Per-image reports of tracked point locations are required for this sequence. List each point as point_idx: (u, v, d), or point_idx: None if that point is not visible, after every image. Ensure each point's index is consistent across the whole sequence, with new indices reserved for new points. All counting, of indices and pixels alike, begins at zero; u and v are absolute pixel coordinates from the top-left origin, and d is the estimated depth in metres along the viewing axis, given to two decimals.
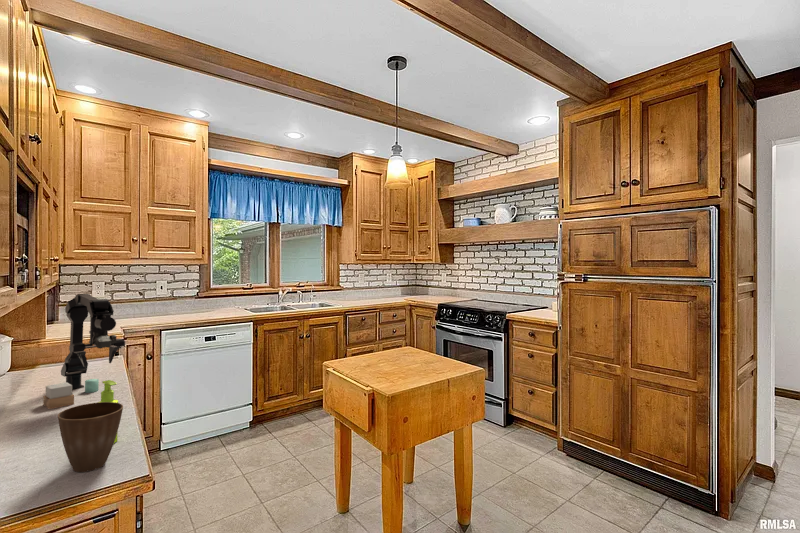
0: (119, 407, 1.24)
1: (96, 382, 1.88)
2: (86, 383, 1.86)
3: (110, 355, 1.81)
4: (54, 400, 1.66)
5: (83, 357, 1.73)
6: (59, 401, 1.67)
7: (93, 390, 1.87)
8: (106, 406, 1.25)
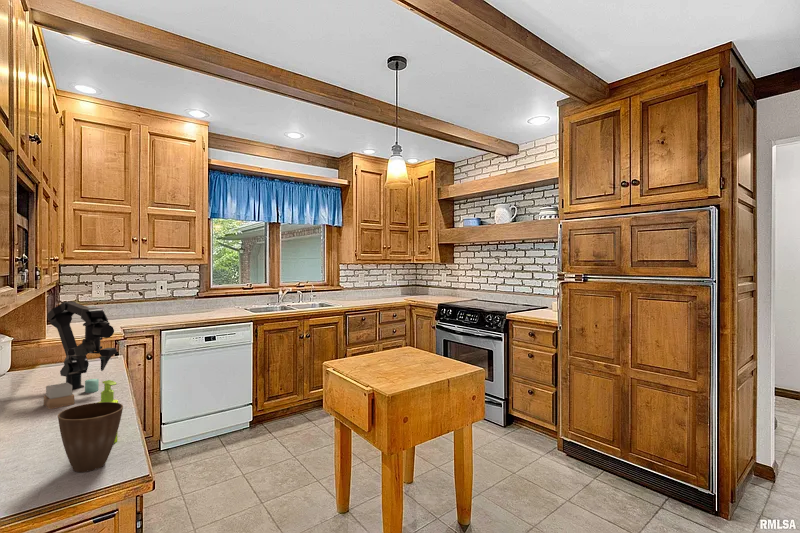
0: (119, 407, 1.24)
1: (96, 382, 1.88)
2: (86, 383, 1.86)
3: None
4: (55, 400, 1.66)
5: (78, 361, 1.87)
6: (59, 401, 1.67)
7: (93, 390, 1.87)
8: (106, 406, 1.25)
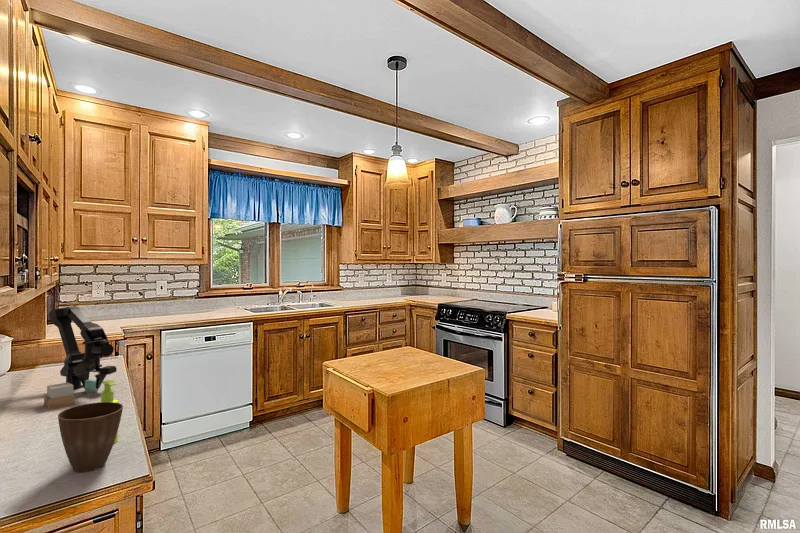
0: (119, 407, 1.24)
1: None
2: (86, 383, 1.86)
3: None
4: (55, 400, 1.66)
5: (82, 380, 1.87)
6: (59, 401, 1.67)
7: (93, 390, 1.87)
8: (106, 406, 1.25)
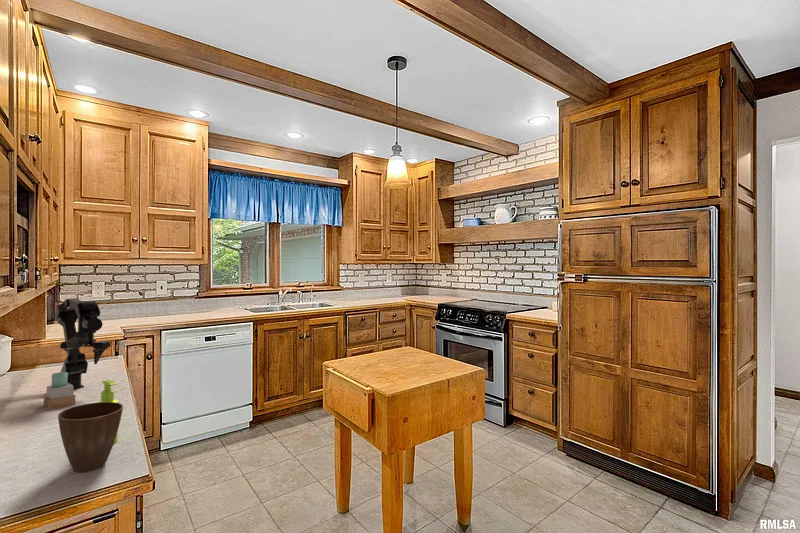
0: (119, 407, 1.24)
1: (65, 376, 1.70)
2: (53, 377, 1.68)
3: None
4: (56, 400, 1.66)
5: (71, 354, 1.84)
6: (60, 401, 1.67)
7: (61, 384, 1.69)
8: (106, 406, 1.25)
